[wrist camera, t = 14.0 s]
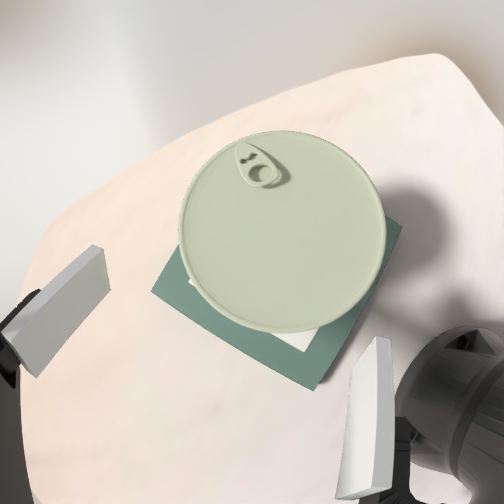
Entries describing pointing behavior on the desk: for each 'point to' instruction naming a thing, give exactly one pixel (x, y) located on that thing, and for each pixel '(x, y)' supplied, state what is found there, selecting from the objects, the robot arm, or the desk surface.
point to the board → (263, 343)
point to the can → (282, 232)
